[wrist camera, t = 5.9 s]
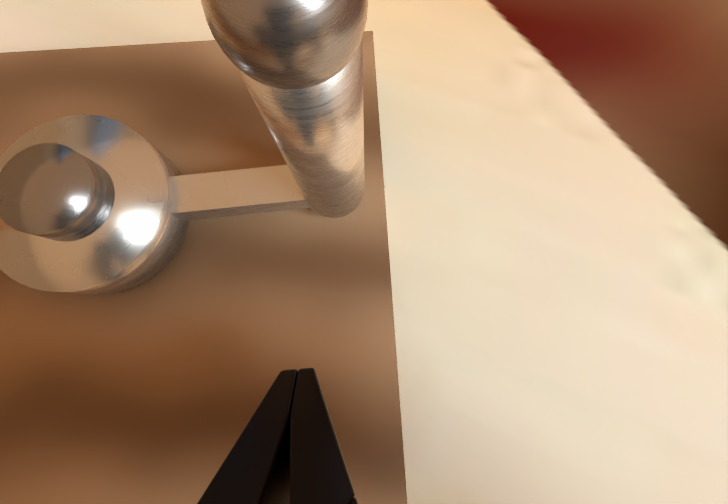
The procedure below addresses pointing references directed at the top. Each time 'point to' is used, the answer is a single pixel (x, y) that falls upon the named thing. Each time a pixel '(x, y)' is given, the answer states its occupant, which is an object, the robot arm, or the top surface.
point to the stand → (193, 301)
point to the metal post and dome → (195, 191)
